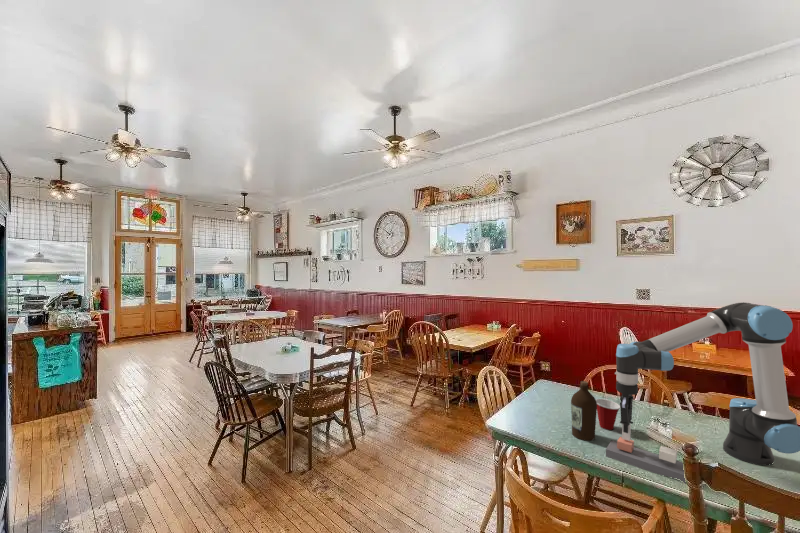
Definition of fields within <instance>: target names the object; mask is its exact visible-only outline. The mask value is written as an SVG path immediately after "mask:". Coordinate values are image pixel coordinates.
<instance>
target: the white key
mask: <svg viewBox="0 0 800 533" xmlns="http://www.w3.org/2000/svg"><path fill="white" fill-rule="evenodd" d="M658 455H659V459H662V460H666V461H669V462H672V463H676V460H677V459H678V450H676V449H673V448H670V447H666V446H665V445H660V447H659V450H658Z"/></svg>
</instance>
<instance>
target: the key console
mask: <svg viewBox="0 0 800 533" xmlns="http://www.w3.org/2000/svg"><path fill="white" fill-rule="evenodd" d="M605 457H607V458H609V459H613V460H615V461H618V462H622V463H623V464H624V463H625V464H627V465H630V466H633V467H635V468H639V469H643V470H644V471H648V472H651V473H654V474H656V473H657V474H656V475H659V474H660V476H662V475H664V476H663V477H665V476H668V477H672V478H677V479H680V480H681V481H683V482H684V483H683V484H686V482H685V478H684V470H683V463H682V462H683V461H680V460H677V459H676V463H672V462H669V461H666V460H662V459H659V453H658V454H657V453H654V452H651V451H648V450H645V449H641V448H638V447H635V446H634V449H633V451H632V453H630V452H627V451H624V450H621V449H618V448H617V441H616V440H613V439H612V440H611V441H610V442H609V444H608V445H607V447H606V448H605ZM668 477H667V478H668Z"/></svg>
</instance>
